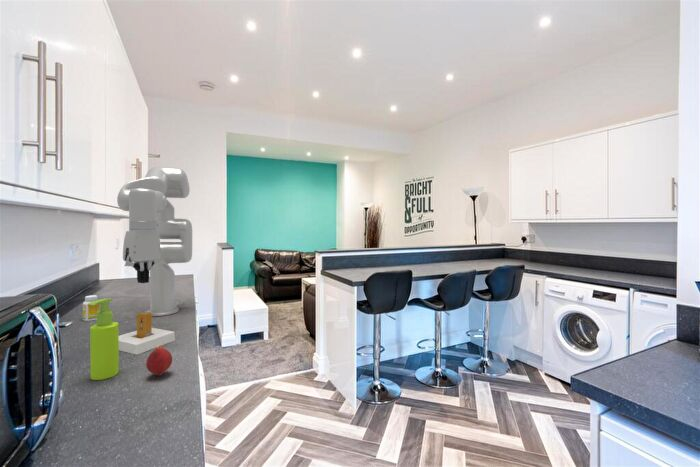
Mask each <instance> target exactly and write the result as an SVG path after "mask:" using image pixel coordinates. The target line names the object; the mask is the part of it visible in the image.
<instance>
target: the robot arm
mask: <svg viewBox="0 0 700 467" xmlns="http://www.w3.org/2000/svg"><path fill="white" fill-rule="evenodd" d="M190 191H191V190H190V182H189V179H188V176H187V173H186V171H184V170H183V169H182V168H178V167H165V166H164V167H163V166H154V167H151V168H150V169H149V170H148V171H147V173H146V175H145V177H143V178H139V179H135V180H132V181H129V182H126V183H125V184H123V186H122V187H121V188H120V189H119V192H118V193H117V199H116V200H117V201H116V202H117V207H119V209H120V210H122V211H124V212H128V219H129V220H128V230H127V231H125V235H124V238H123V248H122V260H123V261H124V262H125V264H124V265H125V266H126V267H132V268H133V269H134V271H136V280H137V284H138V283H140V284H145V283H149V309H147V310H146V311H145V312H152V317H163V316H169V315H173V314H176V313H178V312H179V308H178V306H181V305H184V303H185V302H184V299H181V300H178V301H177V300H175V293H176V292H175V291H176V290H175V289H176V288H175V280H176V279H175V276H176V275H175V271H174V270H173V267H171V266H170V265H169V264H183V263H185V264H186V263H189V262H190V261H191V260H192V259H193V226H192V222H191V220H189V219H187V218H175V207H174V206H173V204H172V203H171V202H170V201H169V200H168V199H169V198H170V199H185V198H187V197H188V196H189V195H190ZM161 240H180V241H161Z"/></svg>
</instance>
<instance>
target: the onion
mask: <svg viewBox="0 0 700 467" xmlns="http://www.w3.org/2000/svg"><path fill="white" fill-rule="evenodd" d="M172 363H173V356H172V353H171V352H170V351H169V350H168V349H166V348H164V345H159V346H158V347H156V348H154V349H153V351H151V352H150V354H149V355H148V356H147V359H146V366H145V367H146V369H147V370H148V371H149V373H151V374H153V375H156V376H159V377H160V376H161V375H163V374H164V373H165V372H166V371H168V369H169V368H170V367H171V365H172Z"/></svg>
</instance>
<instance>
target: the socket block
mask: <svg viewBox="0 0 700 467" xmlns="http://www.w3.org/2000/svg"><path fill="white" fill-rule="evenodd" d="M175 334H176V332H175V331H171V330H167V329H161V328H156V327H152V335H151V336H148V337H145V338H142V339H140V338H137V330H134V331H131V332H127V333H124V334H121V335H119V352H124V353H129V354H132V355H140V354H143V353H144V352H148V351H150V350H155V349H156V348H157V347H158V346H159V345H163V346H164V345H167V344H169V343H172V342H175V341H176V338H175V337H176V335H175Z"/></svg>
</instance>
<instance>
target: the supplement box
mask: <svg viewBox="0 0 700 467" xmlns="http://www.w3.org/2000/svg"><path fill="white" fill-rule="evenodd" d="M152 317H153V316H152V312H146V311H143V312H142V311H141V312H138V313H136V331H137V338H140V339H142V338H145V337H148V336H151V335H152V328H153V318H152Z"/></svg>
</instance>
